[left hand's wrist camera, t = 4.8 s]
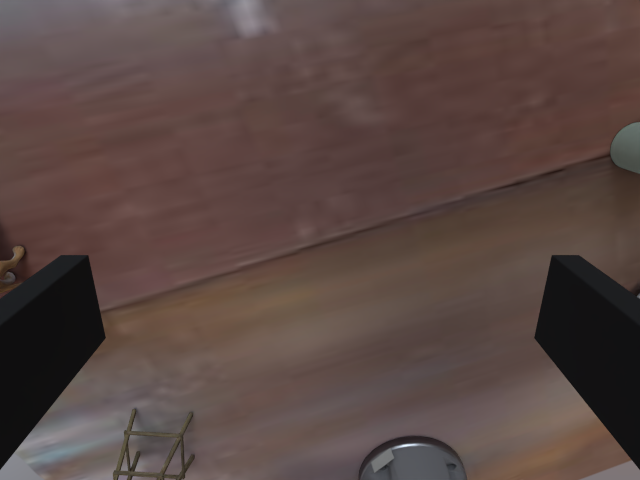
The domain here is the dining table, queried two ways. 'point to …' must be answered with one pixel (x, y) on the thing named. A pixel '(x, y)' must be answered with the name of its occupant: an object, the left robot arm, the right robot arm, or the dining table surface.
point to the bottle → (627, 148)
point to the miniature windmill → (125, 448)
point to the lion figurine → (3, 266)
